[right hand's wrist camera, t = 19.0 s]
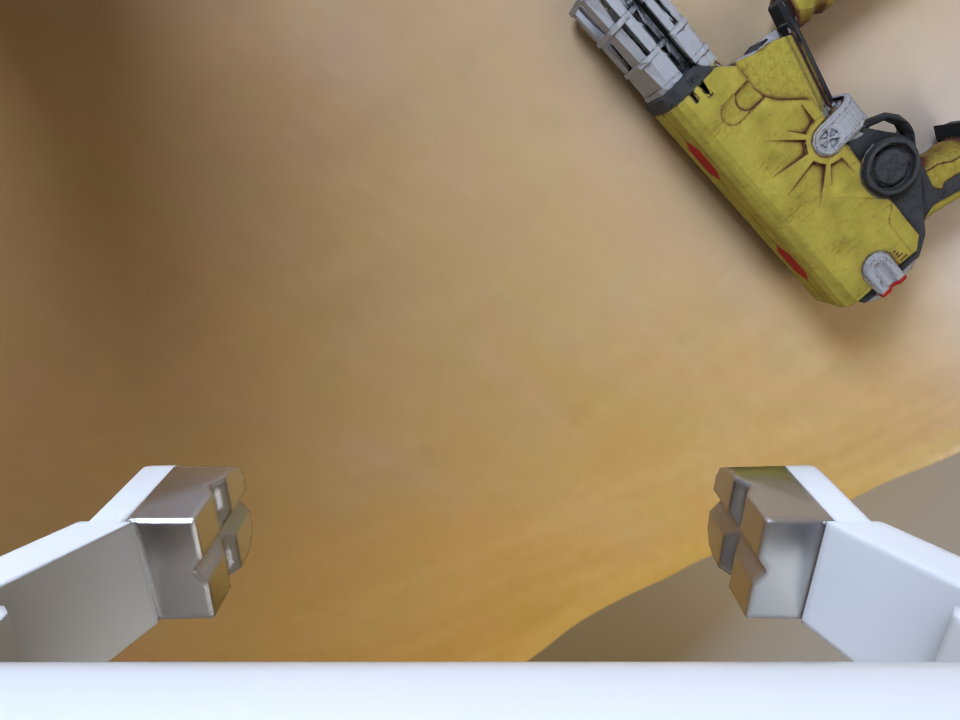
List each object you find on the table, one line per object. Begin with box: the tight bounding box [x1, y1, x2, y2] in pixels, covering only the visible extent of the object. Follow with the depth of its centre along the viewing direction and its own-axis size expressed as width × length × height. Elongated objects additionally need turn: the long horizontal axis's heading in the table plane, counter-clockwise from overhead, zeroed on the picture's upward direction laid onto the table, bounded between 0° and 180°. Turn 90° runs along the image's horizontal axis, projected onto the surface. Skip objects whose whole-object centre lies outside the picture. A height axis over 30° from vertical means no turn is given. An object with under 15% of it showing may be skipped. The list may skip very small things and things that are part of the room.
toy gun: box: [569, 0, 960, 307], centre depth 32 cm, size 5×24×15 cm
